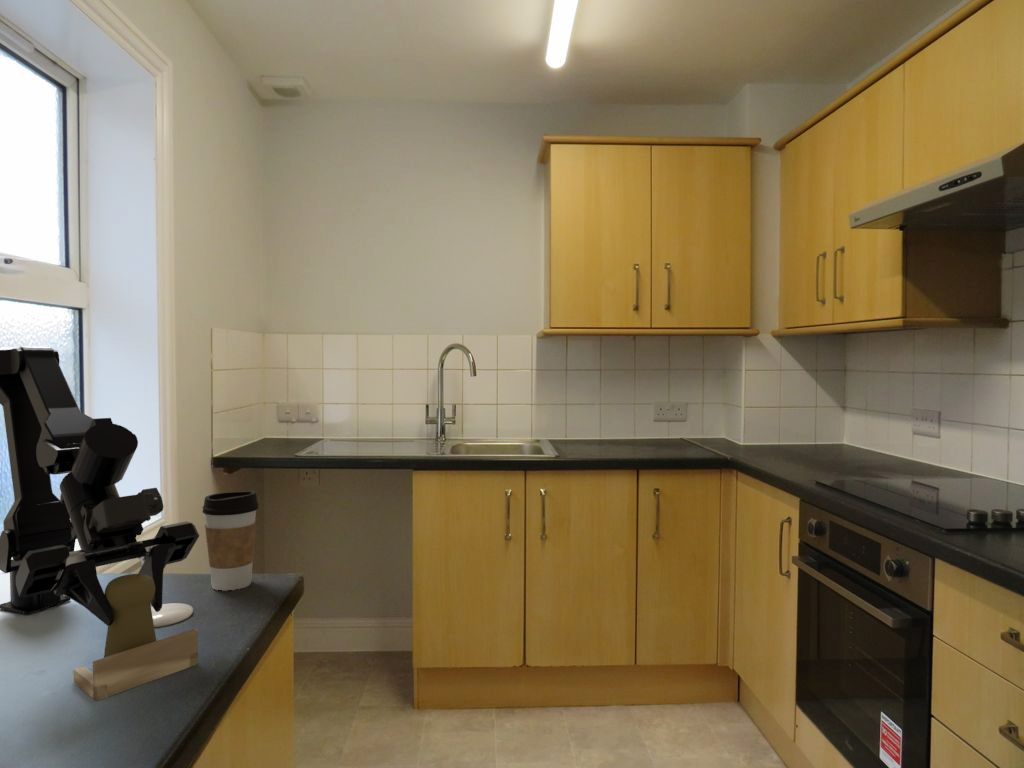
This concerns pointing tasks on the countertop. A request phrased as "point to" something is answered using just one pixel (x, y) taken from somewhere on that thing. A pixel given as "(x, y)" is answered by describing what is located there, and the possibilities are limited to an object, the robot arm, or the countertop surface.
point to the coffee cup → (230, 538)
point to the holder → (138, 665)
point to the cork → (130, 613)
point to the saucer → (171, 614)
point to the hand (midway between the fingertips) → (135, 616)
